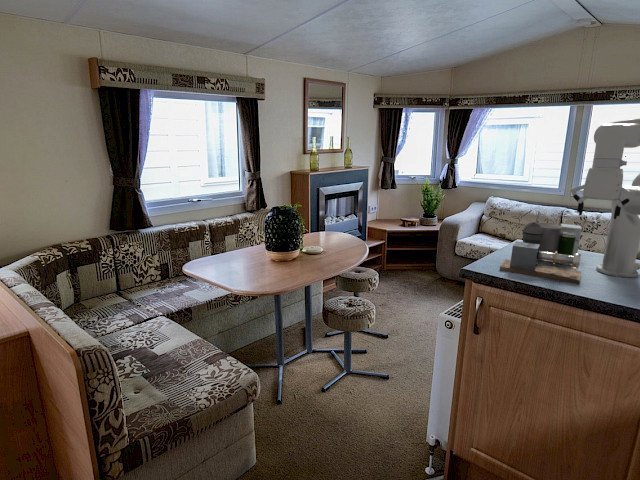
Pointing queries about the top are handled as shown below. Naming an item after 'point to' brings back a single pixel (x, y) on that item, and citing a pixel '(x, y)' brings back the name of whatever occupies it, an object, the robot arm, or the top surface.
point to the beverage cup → (532, 232)
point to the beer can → (566, 244)
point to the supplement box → (573, 229)
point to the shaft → (560, 258)
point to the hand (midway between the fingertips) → (597, 216)
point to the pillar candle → (550, 237)
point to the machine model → (536, 265)
